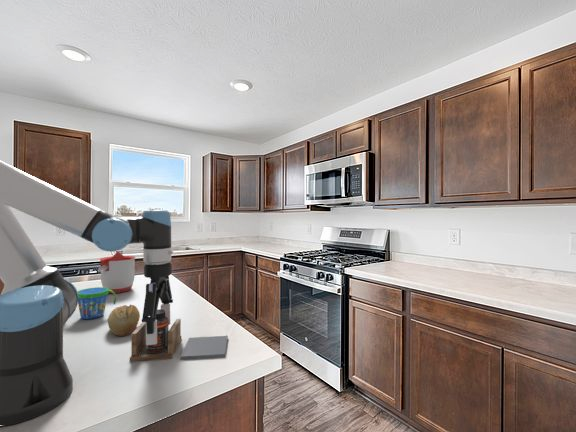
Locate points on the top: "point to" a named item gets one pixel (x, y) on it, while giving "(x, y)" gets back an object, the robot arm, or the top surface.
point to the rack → (140, 342)
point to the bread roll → (123, 320)
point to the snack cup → (93, 302)
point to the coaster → (205, 347)
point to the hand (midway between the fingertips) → (159, 333)
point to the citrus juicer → (117, 272)
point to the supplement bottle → (160, 333)
